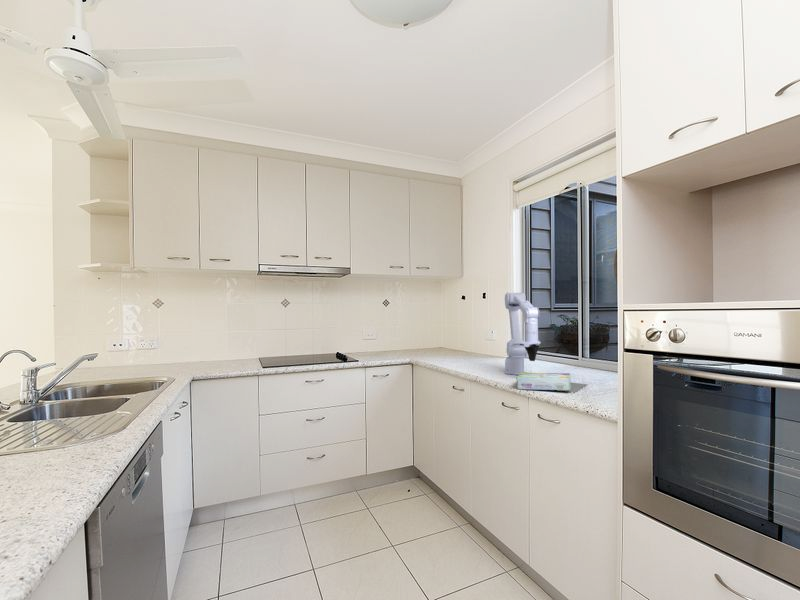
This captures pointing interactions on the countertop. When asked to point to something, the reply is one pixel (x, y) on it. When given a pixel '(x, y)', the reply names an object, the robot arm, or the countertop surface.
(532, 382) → the snack box
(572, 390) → the mat
